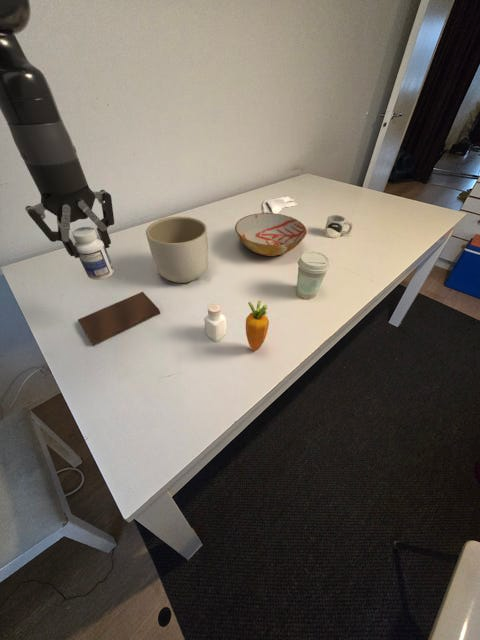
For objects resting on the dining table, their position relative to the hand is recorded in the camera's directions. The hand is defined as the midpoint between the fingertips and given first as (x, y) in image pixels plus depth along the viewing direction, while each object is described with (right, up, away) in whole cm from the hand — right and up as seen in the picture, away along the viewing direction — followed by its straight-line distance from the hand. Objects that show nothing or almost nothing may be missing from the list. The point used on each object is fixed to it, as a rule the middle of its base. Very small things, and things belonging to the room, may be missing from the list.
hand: (91, 251), depth 53 cm
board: (-2, -14, +17) cm, 22 cm away
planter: (+12, +1, +32) cm, 34 cm away
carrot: (+34, -22, +10) cm, 41 cm away
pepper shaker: (+24, -18, +13) cm, 33 cm away
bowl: (+41, +13, +44) cm, 62 cm away
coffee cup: (+50, -6, +26) cm, 57 cm away
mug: (+69, +20, +53) cm, 89 cm away
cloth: (+47, +41, +73) cm, 96 cm away
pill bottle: (0, -4, +4) cm, 6 cm away
